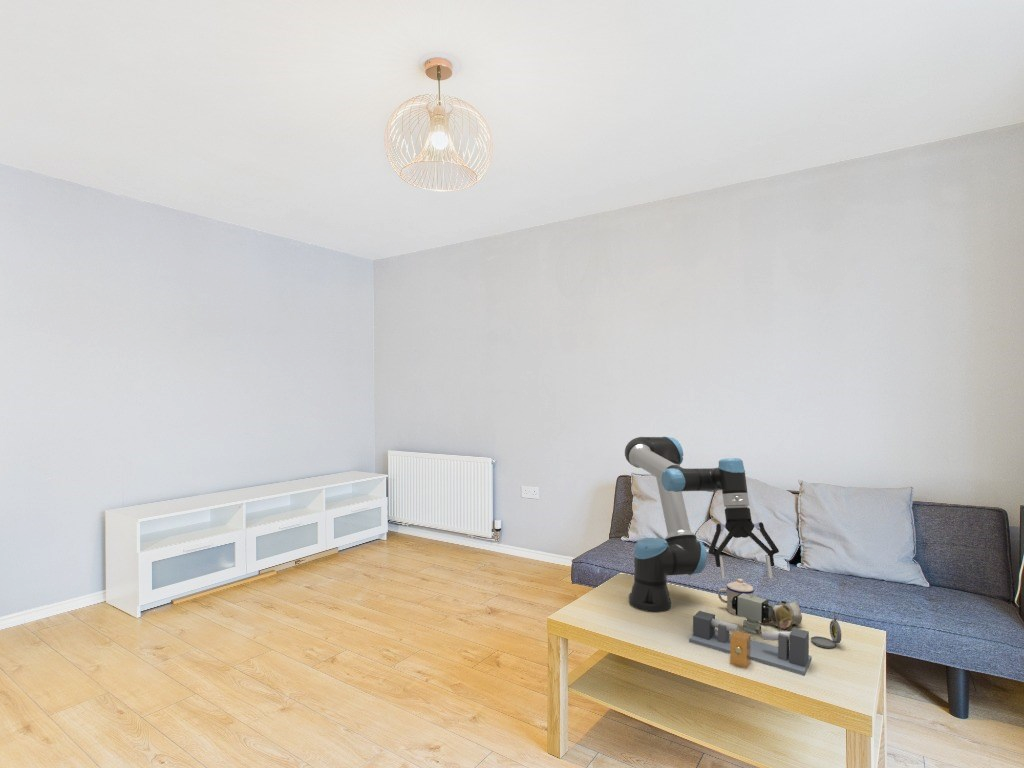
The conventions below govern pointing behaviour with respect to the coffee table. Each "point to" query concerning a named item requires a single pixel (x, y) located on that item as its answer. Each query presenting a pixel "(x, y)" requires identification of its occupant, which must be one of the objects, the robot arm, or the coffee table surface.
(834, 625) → the pocket watch
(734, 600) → the pneumatic valve
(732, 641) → the universal joint coupler
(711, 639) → the shaft rig
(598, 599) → the coffee table surface
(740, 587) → the teacup with lid
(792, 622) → the ceramic sculpture
